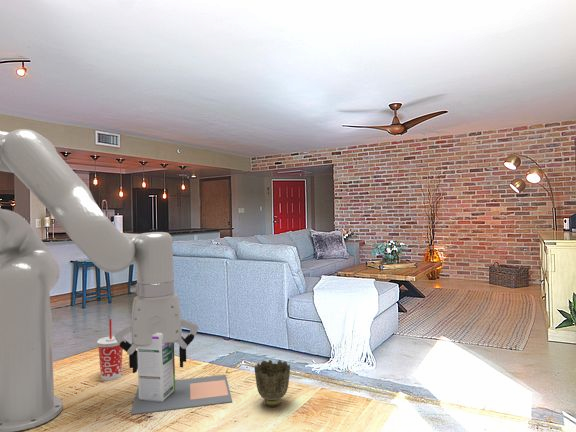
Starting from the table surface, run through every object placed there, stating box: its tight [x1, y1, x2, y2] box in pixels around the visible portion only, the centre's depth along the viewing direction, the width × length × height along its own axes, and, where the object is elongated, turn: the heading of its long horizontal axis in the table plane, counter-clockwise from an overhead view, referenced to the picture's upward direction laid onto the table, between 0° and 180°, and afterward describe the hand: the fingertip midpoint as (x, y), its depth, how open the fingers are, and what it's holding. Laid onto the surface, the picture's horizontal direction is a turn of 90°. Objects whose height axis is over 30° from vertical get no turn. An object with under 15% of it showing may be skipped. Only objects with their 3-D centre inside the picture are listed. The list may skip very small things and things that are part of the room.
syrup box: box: [136, 333, 176, 402], centre depth 88 cm, size 6×6×14 cm
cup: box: [253, 359, 291, 408], centre depth 85 cm, size 8×7×8 cm
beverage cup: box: [96, 318, 124, 381], centre depth 99 cm, size 6×6×14 cm
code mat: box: [130, 374, 233, 416], centre depth 90 cm, size 20×14×1 cm
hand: (158, 367), depth 89 cm, fingers open, 9 cm apart
